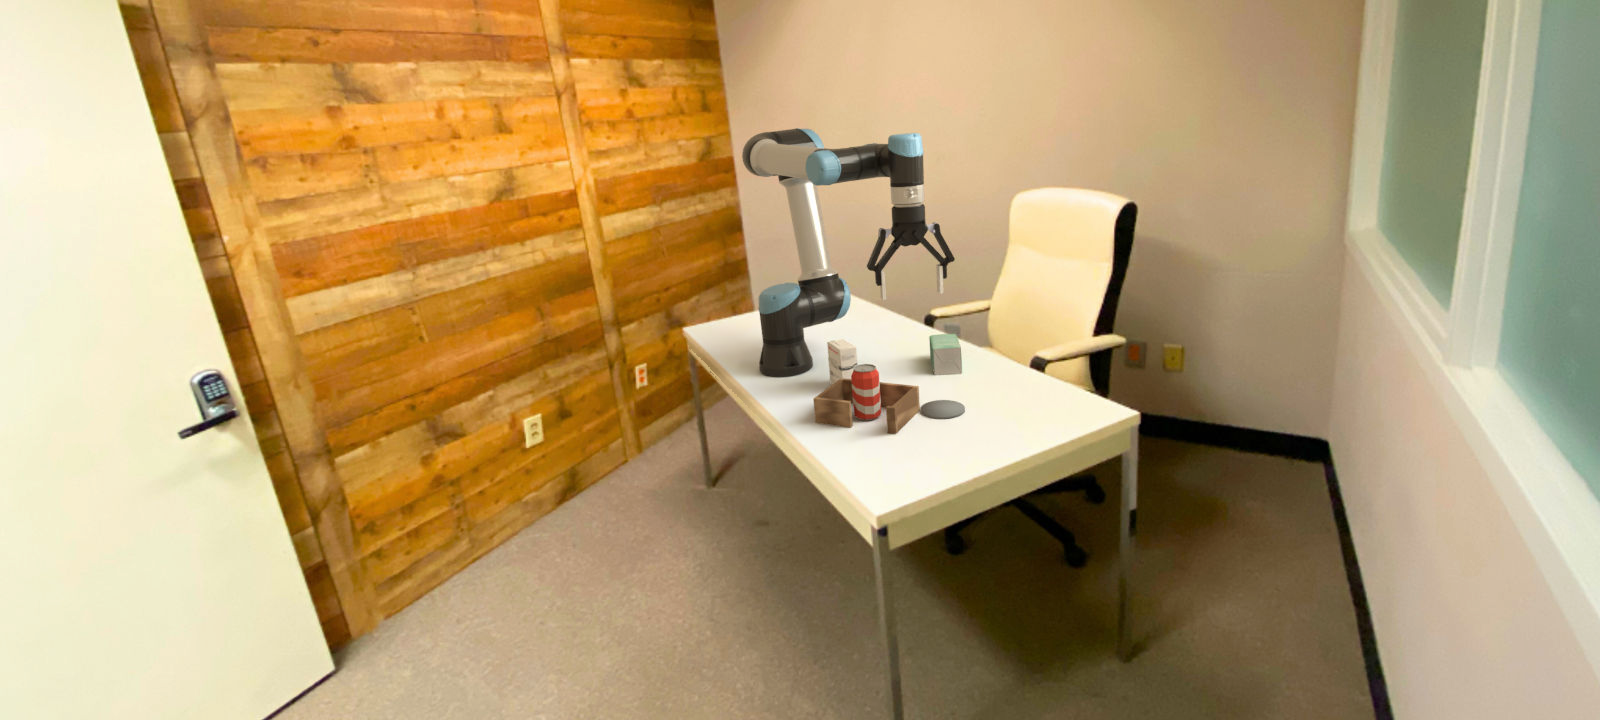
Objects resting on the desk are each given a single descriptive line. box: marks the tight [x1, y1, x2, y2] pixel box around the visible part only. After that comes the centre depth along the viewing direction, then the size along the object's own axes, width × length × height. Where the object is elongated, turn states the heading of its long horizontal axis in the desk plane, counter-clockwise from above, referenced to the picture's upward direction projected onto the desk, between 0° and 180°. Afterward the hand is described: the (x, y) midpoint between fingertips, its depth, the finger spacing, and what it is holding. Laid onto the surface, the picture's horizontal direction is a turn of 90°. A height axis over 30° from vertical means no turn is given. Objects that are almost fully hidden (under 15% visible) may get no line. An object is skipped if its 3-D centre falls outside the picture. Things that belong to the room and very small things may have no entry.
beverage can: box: [851, 363, 882, 421], centre depth 170 cm, size 6×6×12 cm
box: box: [928, 333, 963, 376], centre depth 199 cm, size 7×14×8 cm, turn 175°
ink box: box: [826, 338, 858, 386], centre depth 190 cm, size 8×5×12 cm, turn 20°
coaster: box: [920, 399, 966, 420], centre depth 171 cm, size 10×10×1 cm
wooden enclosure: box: [813, 378, 921, 435], centre depth 171 cm, size 20×14×6 cm
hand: (912, 295), depth 175 cm, fingers open, 13 cm apart
